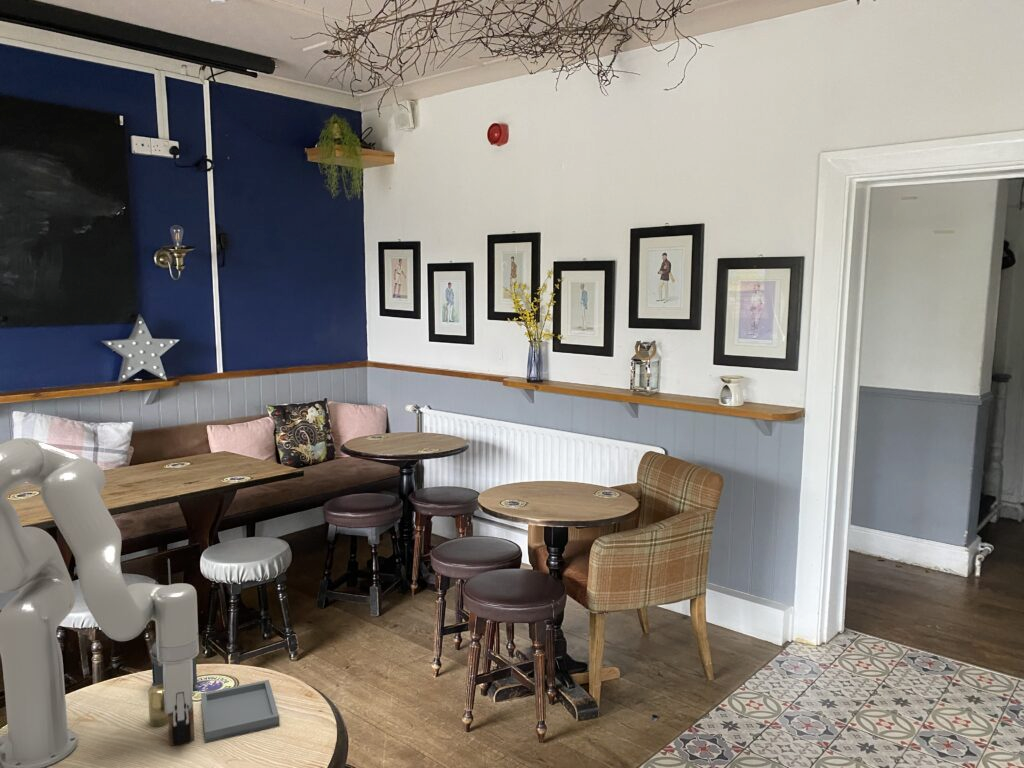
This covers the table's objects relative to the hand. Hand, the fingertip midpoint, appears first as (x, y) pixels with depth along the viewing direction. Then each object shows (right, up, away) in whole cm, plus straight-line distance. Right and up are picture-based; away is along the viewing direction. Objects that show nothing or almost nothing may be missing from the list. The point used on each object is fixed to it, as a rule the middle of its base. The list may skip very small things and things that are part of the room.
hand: (181, 734), depth 149 cm
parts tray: (+8, 0, +8) cm, 12 cm away
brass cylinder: (-7, 0, +6) cm, 9 cm away
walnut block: (0, 0, 0) cm, 0 cm away
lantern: (-10, +1, +19) cm, 21 cm away
